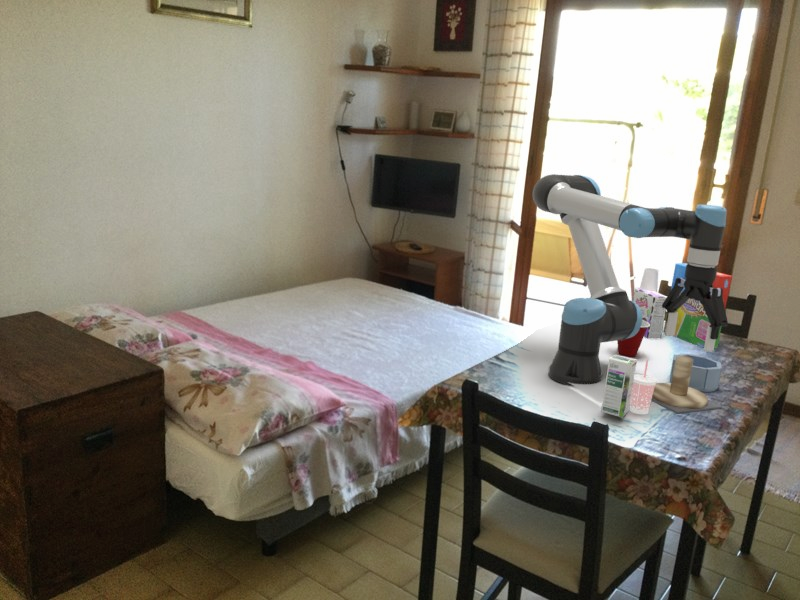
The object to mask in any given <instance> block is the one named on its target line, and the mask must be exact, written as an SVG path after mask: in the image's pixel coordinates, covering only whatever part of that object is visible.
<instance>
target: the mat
mask: <svg viewBox="0 0 800 600" xmlns="http://www.w3.org/2000/svg"><path fill="white" fill-rule="evenodd" d="M651 402H654V403H655V404H658V405H659V406H661V407H663V408H665V409H667V410H669V411H670V412H673V413H675V414H676V415H677V414H678V415H679V414H688V413H695V412H696V413H697V412H702V411H703V412H704V411H712V410H720V409H721V410H722V409H723V406H722V405H720V404H718V403H716V402H714V401H711V400H709V399H708V402H707V405H706V406H705V407H703V408H699V409H687V408H679V407H675V406H670V405H667V404H664V403H661V402H659V401H657V400H655V399H653V398H652V399H651Z"/></svg>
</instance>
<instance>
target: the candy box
mask: <svg viewBox="0 0 800 600" xmlns="http://www.w3.org/2000/svg"><path fill="white" fill-rule="evenodd" d="M667 296H668V295H667ZM667 296H666V295H664V294H662V293H660V292H658V291H657V292H655V291H646V290H641V289H640V287H635V288H634V294H633V298H632V299H633V300H632V301H633V302H634V303H636V304H638V306H639V307H640V309H641V312H642V320H644V321H646V322H648V323H649V324H650V327H648V329H647V330H646V332H645V334H644V337H643V338H645V339H649V340H650V339H651V340H652V339H661V338H662V335H663V331H664V325H665V320H666V314H667V310H666V309H665V308H663V307H662V304H663V303H664V301H665V299H666V298H667Z"/></svg>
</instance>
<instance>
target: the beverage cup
mask: <svg viewBox="0 0 800 600" xmlns="http://www.w3.org/2000/svg"><path fill="white" fill-rule="evenodd" d="M648 364H649V359H646V360H645V367H644V373H643V374H641V373H639V374H637V373H635V375H634V381H633V387H632V393H631V399H630V405H629V411H630V412H631V413H633V414H637V415H648V414H649V410H650V406H651V402H652V400H651V399H652V395H653V391H654V387H655V385H656V383H658V380H657V378H655V377H653V376H650V375H647V370H648Z"/></svg>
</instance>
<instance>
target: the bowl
mask: <svg viewBox="0 0 800 600" xmlns="http://www.w3.org/2000/svg"><path fill="white" fill-rule="evenodd" d="M676 356H687V357H690V358H692V359H693V365H692V370H691V376H690V381H689V386H688V387H691V388H694V389H696V390H698V391H700V392H702V393H712V392H715V391H717V390H718V388H719V384H720V379H721V376H722V375H721V373H722V368H723V367H722V363H721V362H720V361H717V360H715V359H712V358H710V357H708V356H703V355H702V356H701V355H697V354H690V353H680V354H673V357H672V363H671V368H670V374H669V383H671V382H672V376H673V371H674V365H675V360H676Z"/></svg>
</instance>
